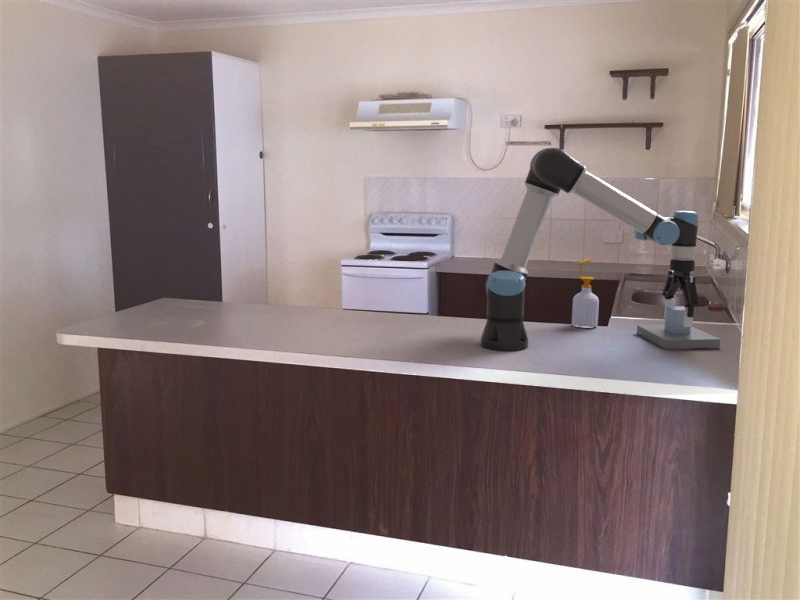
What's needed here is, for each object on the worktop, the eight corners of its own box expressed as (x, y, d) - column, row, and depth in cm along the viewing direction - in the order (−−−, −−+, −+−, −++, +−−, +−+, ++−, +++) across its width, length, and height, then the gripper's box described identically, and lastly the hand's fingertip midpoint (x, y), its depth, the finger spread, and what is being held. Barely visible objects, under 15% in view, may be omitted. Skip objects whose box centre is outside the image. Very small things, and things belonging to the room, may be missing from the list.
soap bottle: (598, 329, 260) (602, 260, 256) (571, 328, 262) (575, 259, 257) (596, 324, 269) (600, 257, 264) (571, 323, 270) (574, 256, 266)
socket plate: (665, 349, 232) (666, 340, 232) (636, 333, 254) (637, 325, 253) (719, 348, 234) (720, 339, 234) (686, 332, 256) (686, 324, 255)
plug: (672, 341, 241) (674, 310, 239) (663, 337, 247) (666, 306, 245) (689, 341, 241) (692, 309, 239) (680, 336, 247) (683, 306, 245)
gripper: (713, 263, 227) (707, 330, 231) (675, 254, 252) (671, 314, 256) (690, 263, 227) (685, 330, 230) (654, 254, 251) (650, 314, 255)
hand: (677, 322), depth 243 cm, fingers open, 13 cm apart
